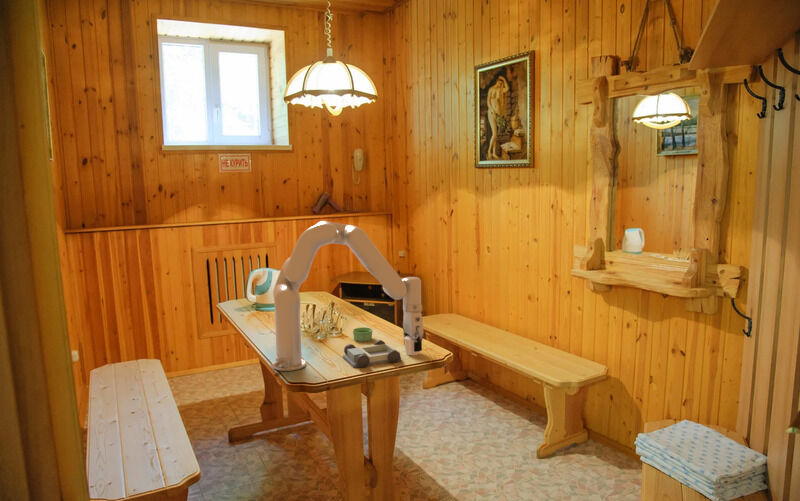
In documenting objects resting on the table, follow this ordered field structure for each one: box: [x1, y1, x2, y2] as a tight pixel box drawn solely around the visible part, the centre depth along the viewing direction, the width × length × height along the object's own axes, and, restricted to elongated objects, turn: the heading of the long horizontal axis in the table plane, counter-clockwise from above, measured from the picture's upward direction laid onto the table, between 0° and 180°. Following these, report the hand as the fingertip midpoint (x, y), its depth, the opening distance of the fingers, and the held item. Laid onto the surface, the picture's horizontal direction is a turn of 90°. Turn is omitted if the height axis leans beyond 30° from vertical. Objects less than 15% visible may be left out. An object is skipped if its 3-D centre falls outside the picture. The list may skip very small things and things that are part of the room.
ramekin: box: [352, 326, 373, 343], centre depth 250 cm, size 9×9×4 cm
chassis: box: [342, 339, 402, 369], centre depth 222 cm, size 20×17×5 cm
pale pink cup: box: [403, 335, 420, 356], centre depth 229 cm, size 7×7×7 cm
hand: (412, 347), depth 229 cm, fingers open, 9 cm apart
